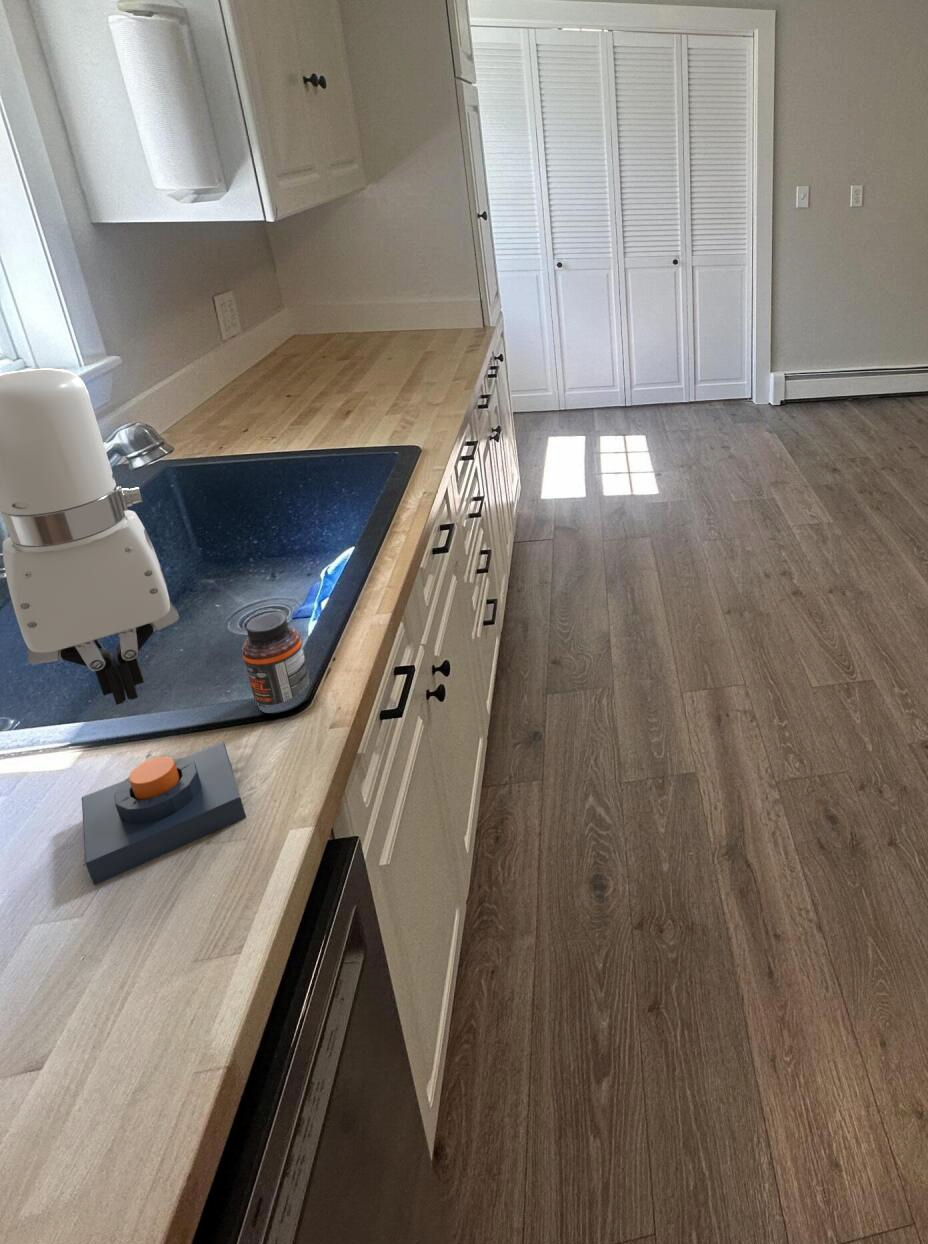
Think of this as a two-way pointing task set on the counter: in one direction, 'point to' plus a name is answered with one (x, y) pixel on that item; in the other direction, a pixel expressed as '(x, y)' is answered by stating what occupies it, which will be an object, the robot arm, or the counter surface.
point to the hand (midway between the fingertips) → (126, 693)
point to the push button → (154, 777)
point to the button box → (159, 815)
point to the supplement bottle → (274, 659)
